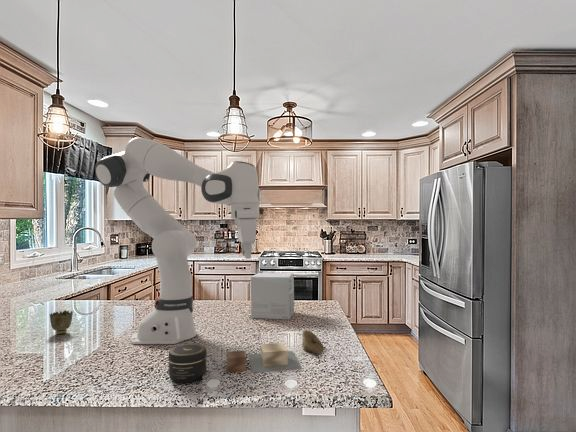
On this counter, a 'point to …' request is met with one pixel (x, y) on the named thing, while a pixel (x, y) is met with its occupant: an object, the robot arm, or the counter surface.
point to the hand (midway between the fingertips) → (246, 257)
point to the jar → (187, 363)
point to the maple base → (274, 354)
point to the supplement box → (272, 295)
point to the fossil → (312, 343)
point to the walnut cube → (236, 361)
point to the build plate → (258, 366)
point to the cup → (61, 321)
